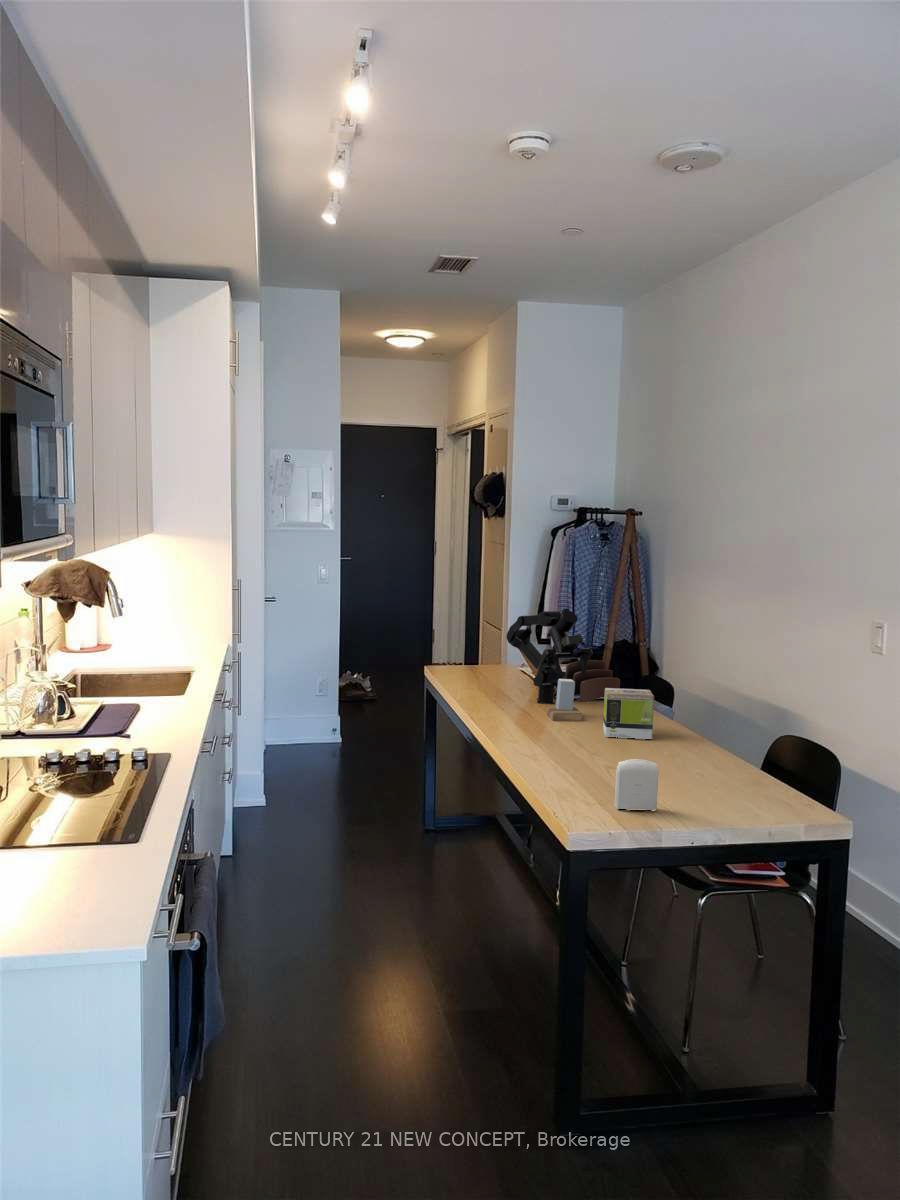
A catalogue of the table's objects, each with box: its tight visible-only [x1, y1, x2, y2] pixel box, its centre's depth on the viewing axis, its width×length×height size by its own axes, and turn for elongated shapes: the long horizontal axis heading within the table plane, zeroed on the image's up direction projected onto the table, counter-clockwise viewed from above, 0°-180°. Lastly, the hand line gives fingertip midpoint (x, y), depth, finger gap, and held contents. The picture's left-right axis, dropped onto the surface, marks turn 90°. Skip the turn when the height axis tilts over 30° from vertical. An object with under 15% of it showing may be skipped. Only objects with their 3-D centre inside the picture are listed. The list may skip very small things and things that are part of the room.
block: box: [545, 705, 583, 723], centre depth 308 cm, size 10×10×4 cm
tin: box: [555, 678, 575, 711], centre depth 308 cm, size 4×5×10 cm
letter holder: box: [564, 659, 621, 703], centre depth 344 cm, size 10×20×14 cm, turn 121°
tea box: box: [602, 687, 655, 740], centre depth 287 cm, size 15×10×15 cm, turn 84°
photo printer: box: [614, 758, 660, 810], centre depth 216 cm, size 10×4×12 cm, turn 88°
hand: (573, 675), depth 314 cm, fingers open, 9 cm apart
